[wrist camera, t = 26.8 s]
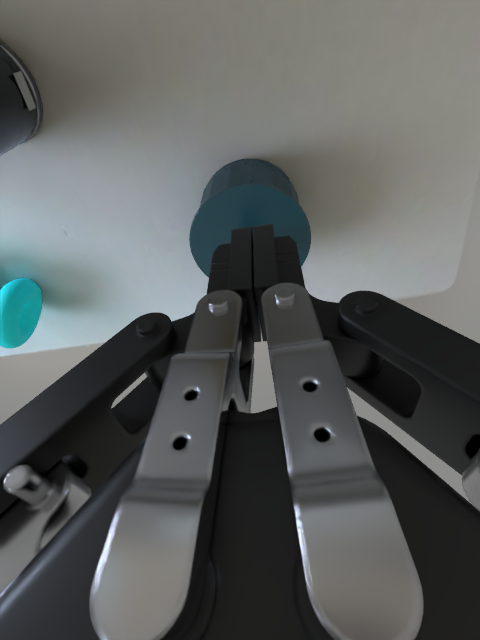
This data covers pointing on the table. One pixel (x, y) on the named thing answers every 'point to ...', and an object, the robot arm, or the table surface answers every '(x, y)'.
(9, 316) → the donuts
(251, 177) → the pot
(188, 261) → the table surface
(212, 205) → the lid
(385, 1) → the table surface
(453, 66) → the table surface
